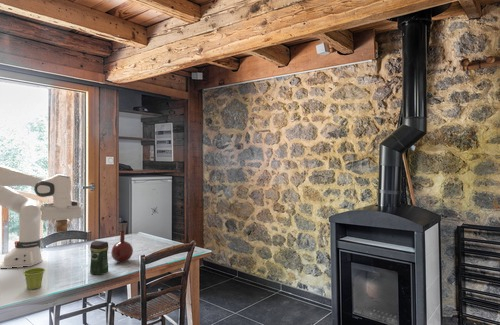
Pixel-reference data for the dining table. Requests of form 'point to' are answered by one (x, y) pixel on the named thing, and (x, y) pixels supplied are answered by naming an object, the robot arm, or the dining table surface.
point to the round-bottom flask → (122, 249)
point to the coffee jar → (99, 257)
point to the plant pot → (34, 277)
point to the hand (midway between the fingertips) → (61, 227)
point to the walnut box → (61, 225)
